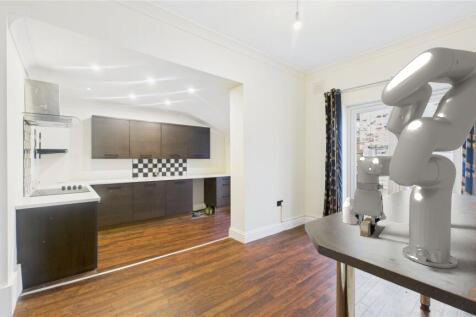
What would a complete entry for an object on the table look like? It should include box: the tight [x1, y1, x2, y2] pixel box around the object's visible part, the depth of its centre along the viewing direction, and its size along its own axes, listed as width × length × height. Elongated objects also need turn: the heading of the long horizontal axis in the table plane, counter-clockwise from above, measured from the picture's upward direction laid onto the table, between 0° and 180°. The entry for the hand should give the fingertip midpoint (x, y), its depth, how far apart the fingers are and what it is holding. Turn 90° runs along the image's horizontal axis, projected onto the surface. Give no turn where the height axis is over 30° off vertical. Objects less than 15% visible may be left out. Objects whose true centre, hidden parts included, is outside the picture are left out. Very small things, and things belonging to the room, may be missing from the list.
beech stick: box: [359, 216, 378, 238], centre depth 91 cm, size 18×2×5 cm, turn 138°
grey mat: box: [377, 220, 409, 245], centre depth 90 cm, size 26×9×1 cm, turn 138°
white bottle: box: [342, 196, 358, 225], centre depth 102 cm, size 6×12×6 cm
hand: (367, 231), depth 89 cm, fingers closed on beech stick, 2 cm apart
